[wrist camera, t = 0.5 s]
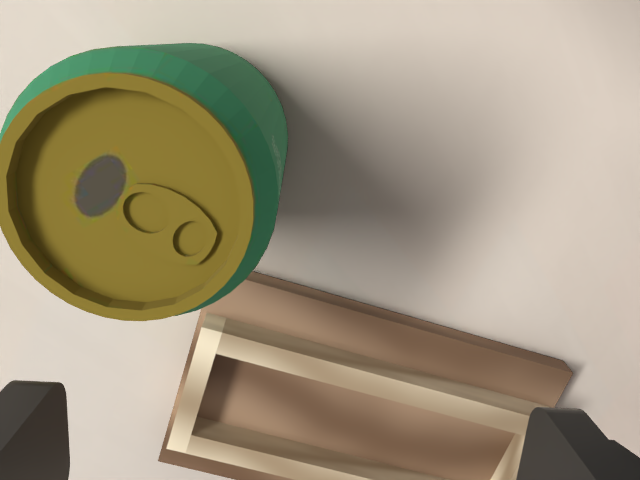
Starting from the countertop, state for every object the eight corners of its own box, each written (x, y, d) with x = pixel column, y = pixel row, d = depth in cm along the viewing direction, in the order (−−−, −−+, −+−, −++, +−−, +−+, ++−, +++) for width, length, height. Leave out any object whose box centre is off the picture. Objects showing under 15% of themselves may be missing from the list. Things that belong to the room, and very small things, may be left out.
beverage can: (168, 4, 24) (49, -24, 13) (321, 110, 26) (334, 165, 15) (86, 156, 26) (-78, 246, 15) (232, 244, 28) (182, 384, 17)
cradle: (216, 260, 28) (207, 282, 26) (563, 360, 31) (586, 390, 28) (163, 446, 32) (150, 481, 29) (476, 521, 35) (489, 560, 32)
